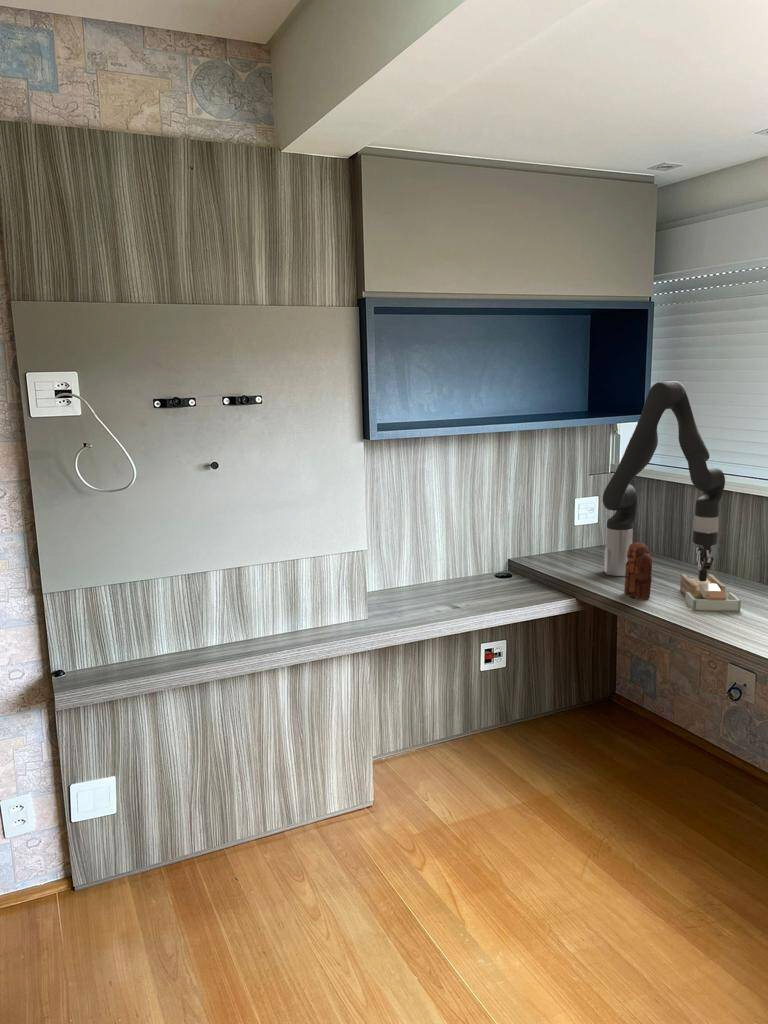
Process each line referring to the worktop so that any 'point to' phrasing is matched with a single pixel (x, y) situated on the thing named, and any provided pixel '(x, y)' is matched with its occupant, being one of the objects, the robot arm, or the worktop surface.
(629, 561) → the wooden figurine
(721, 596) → the tile
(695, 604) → the tray
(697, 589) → the wooden u-channel
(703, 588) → the tile
